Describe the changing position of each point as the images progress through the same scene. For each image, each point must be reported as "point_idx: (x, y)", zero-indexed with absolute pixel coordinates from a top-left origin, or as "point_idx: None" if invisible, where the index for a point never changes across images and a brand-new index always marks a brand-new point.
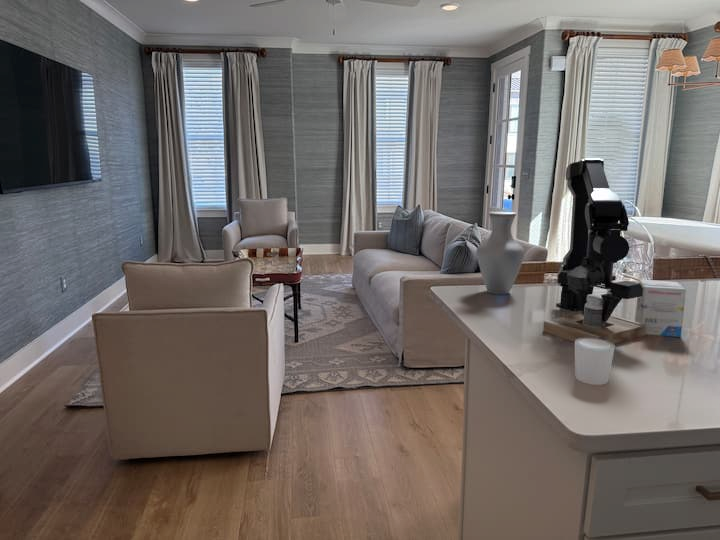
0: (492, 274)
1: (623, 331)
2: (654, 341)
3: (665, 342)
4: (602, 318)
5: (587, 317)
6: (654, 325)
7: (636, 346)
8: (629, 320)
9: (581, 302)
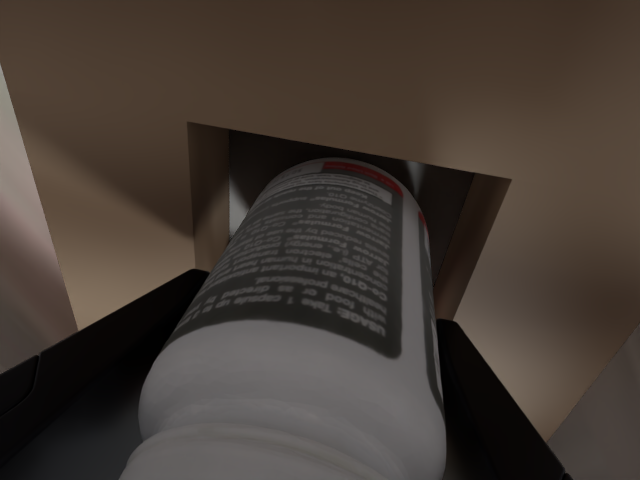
0: None
1: (55, 241)
2: (55, 324)
3: (27, 342)
4: (189, 287)
5: (338, 234)
6: None
7: (5, 175)
8: None
9: (519, 471)
